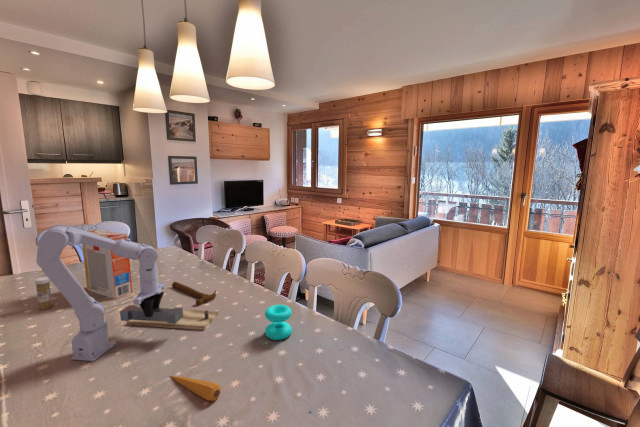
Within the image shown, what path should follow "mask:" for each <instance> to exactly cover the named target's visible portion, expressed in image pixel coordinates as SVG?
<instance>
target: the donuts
mask: <svg viewBox="0 0 640 427" xmlns="http://www.w3.org/2000/svg"><path fill="white" fill-rule="evenodd" d="M292 314H293V312H292V309H291V307H289V306H288V305H285V304H273V305H270V306H268V307H267V308H266V310H265V311H264V317H265V319H266V320H267V321H269V322H271V323H269V324H268V325H267V326H266V327H265V330H264V333H265V336H266V337H267V338H268V339H270V340H274V341H281V340H285V339H288V337H290V336H291V334H292V332H293V328H292V325H290V324H289V322H286V321H287V320H289V319H290V318H291V317H292Z"/></svg>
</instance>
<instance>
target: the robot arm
mask: <svg viewBox="0 0 640 427" xmlns="http://www.w3.org/2000/svg"><path fill="white" fill-rule="evenodd" d="M87 231H88V230H87ZM87 231H86V230H84V229H80V228H76V227H73V226H67V225H64V224H55V225H53V226H50V227H49V228H48V229H47V231H45V232H44V233H43V234H42V235H41V237H40V238H39V240H38V241H37V243H36V246H37V252H36V263H37V266H38V267H39V268H40V269H41V270H42V272H43V273H44V274H45V275H46V277H48V278H49V280H50V281H51V283H52V284H53V285H54V286H55V287H56V289H57V290H58V291H59V292H60V294H61V295H62V296H63V297H64V299H65V300H66V301H67V302H68V303H69V305H70V306H71V307H72V308H73V310H74V314H75V316H76V318H77V319H78V324H79V331H78V333H77V334H76V335H75V336H73V337H72V339H71V347H72V348H71V349H72V357H71V360H72V361H73V360H76V361H84V362H85V361H87V362H88V361H89V362H95V360H97V359H98V358H100V357H101V356H102V355H104V354H105V353H106V352H108V351H109V350H110V349H112V348H113V347H114V346H116V344H117V343H116V342H110V339H109V329H108V322H107V320H106V319H105V317H104V316H105V315H104V314H105V309H106V307H105V306H104V304H102V303H100V302H98V301H97V300H95V298H94V297H93V296H90V295H89V293H88V292H87V291H86V290H85V288H83V286H82V285H81V284H80V282H79V281H78V279H77V278H76V277H75V276H74V275H73V273H72V272H71V271H70V270H69V268H68V267H67V266H66V265H65V263H64V262H63V261H62V259H61V255H62V253H63V250H64V249H65V248H66V247H67V246H68V244H70V247H73V246H79V245H82V244H88V245H92V246H97V247H101V248H105V249H110V250H112V251H113V253H114V255H118V256H121V257H125V258H129V259H130V260H133V261H138V263H139V267H138V272H139V273H138V274H139V284H140V292H139V293H138V294H137V295H136V296H135V297H134V298H133V299H132V301H133V305H135V306H139V307H141V308H142V310H143V312H144V314H145V317H152V308H160V305H161V301H162V298H163V297H164V291H162V290H164V289H165V288H166V283H165V282H164V283H163V282H160V281H159V270H158V265H157V264H158V257H159V255H158V253H157V250H156V249H155V248H154V247H153V246H151V245H150V244H145V243H143V242H142V243H138V242H135V241H131V239H130V238H129V237H128V238H126V240H125V239H120V240H116V241H115V240H112V239H109V238H106V237H103V236H100V235H96V234H93V233H90V232H87Z"/></svg>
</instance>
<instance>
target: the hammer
mask: <svg viewBox="0 0 640 427" xmlns="http://www.w3.org/2000/svg"><path fill="white" fill-rule="evenodd" d="M171 287H172V288H174V289H176V290H178V291H180V292H183V293H185V294H188V295H190V296H193V297H195V298H198V299H196V300H195V304H196V306H201V305H203V304H204V305H205V304H208V303H210V302H212V301H214V300H215V298H216V296H217V294H216V293H217V291H216V290H214V291H213V293H211V294H207V293H203V292H200V291H198V290H197V289H194V288H192V287H189V286H188V285H185V284H182V283H180V282H177V281H173V282H172V284H171Z"/></svg>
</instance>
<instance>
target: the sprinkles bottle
mask: <svg viewBox="0 0 640 427" xmlns="http://www.w3.org/2000/svg"><path fill="white" fill-rule="evenodd" d="M50 281H51V280H50V279H49V278H48V276H41V277H37V278H36V279H35V280H34V283H35V286H36V295H37V296H36V298H37V302H38V309H39V310H47V309H50V308H52V307H53V301H52V293H51V292H52V291H51V286H50Z"/></svg>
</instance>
